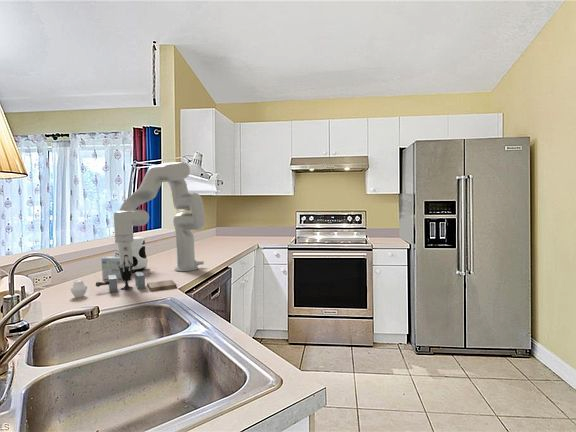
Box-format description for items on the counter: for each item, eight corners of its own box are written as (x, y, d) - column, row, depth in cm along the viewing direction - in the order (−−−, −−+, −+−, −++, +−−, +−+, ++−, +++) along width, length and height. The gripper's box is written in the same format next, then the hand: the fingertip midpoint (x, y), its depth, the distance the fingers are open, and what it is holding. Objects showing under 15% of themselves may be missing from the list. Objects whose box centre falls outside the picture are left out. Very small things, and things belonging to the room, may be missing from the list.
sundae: (119, 291, 167) (117, 256, 166) (118, 288, 173) (116, 255, 172) (135, 289, 170) (133, 255, 169) (134, 286, 176) (132, 253, 175)
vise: (142, 284, 179) (141, 271, 178) (145, 288, 170) (144, 275, 170) (95, 290, 170) (95, 276, 170) (96, 295, 161) (95, 281, 161)
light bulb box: (128, 276, 199) (127, 255, 199) (122, 279, 193) (120, 257, 192) (109, 276, 200) (108, 255, 200) (102, 279, 194) (100, 258, 193)
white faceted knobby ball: (72, 299, 155) (70, 282, 155) (70, 296, 160) (69, 280, 160) (89, 296, 159) (88, 280, 158) (86, 294, 164) (85, 277, 163)
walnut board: (171, 283, 180) (171, 279, 180) (176, 287, 170) (176, 284, 170) (147, 286, 175) (147, 283, 174) (150, 291, 165) (150, 287, 165)
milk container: (107, 273, 208) (105, 240, 207) (127, 267, 225) (125, 236, 224) (135, 274, 204) (134, 240, 203) (154, 267, 221) (152, 236, 220)
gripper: (135, 239, 164) (137, 281, 165) (131, 236, 179) (133, 275, 180) (116, 241, 161) (118, 284, 162) (113, 237, 176) (116, 277, 177)
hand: (126, 278), depth 171 cm, fingers closed on sundae, 4 cm apart
